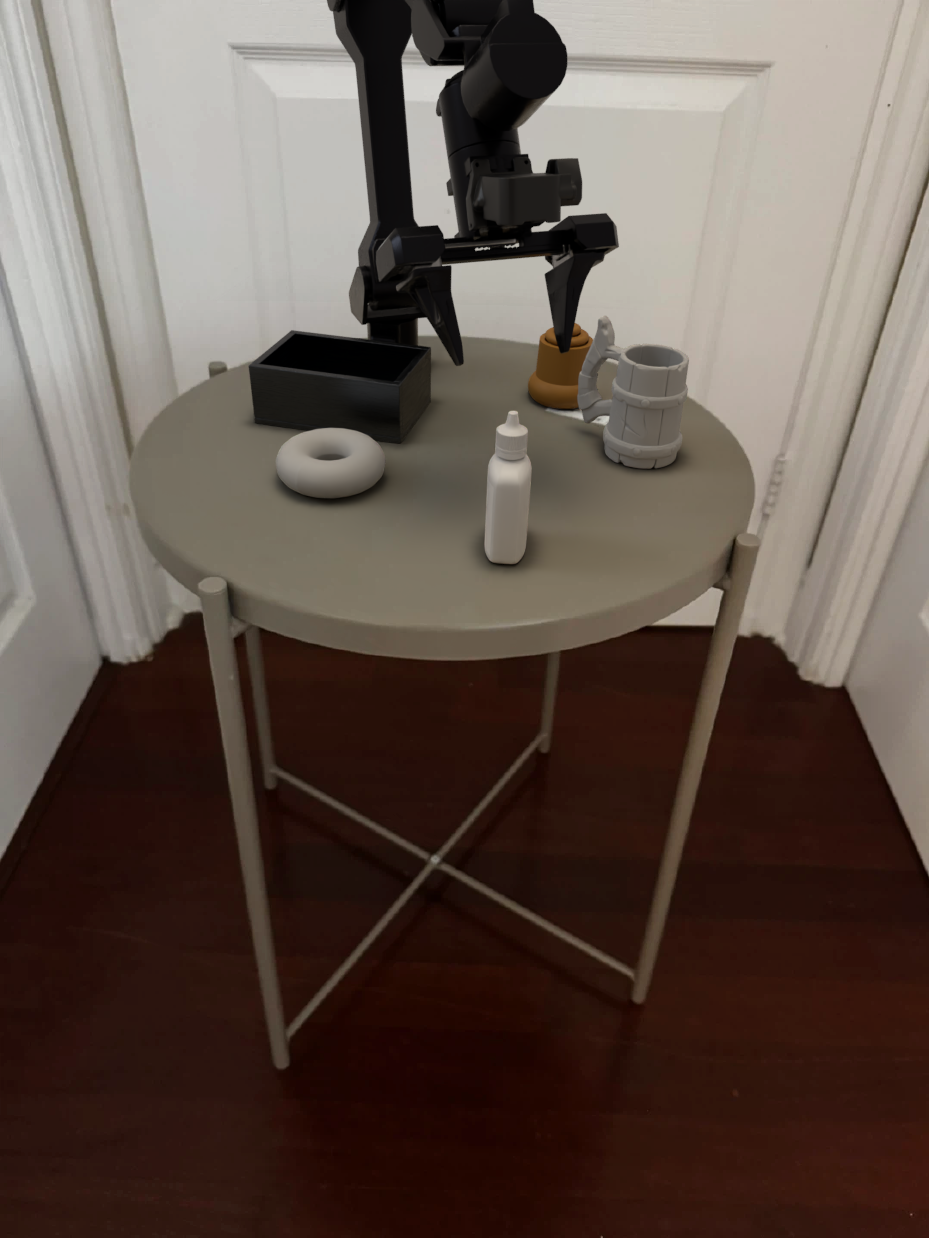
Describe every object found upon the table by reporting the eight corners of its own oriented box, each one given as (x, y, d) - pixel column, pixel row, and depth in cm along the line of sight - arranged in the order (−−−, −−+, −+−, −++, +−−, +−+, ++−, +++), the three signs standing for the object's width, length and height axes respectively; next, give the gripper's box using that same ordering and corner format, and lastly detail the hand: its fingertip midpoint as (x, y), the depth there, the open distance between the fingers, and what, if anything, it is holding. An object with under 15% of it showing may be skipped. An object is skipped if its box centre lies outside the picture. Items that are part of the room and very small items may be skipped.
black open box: (296, 384, 104) (291, 330, 100) (431, 402, 101) (431, 347, 97) (254, 423, 96) (248, 365, 92) (400, 444, 93) (399, 385, 89)
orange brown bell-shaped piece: (609, 401, 102) (557, 417, 99) (564, 379, 107) (513, 393, 103) (618, 329, 97) (564, 342, 94) (571, 309, 102) (517, 321, 99)
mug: (652, 479, 88) (672, 355, 81) (552, 440, 94) (562, 321, 87) (694, 452, 93) (716, 333, 86) (596, 417, 99) (609, 303, 92)
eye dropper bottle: (464, 554, 77) (468, 417, 70) (500, 525, 80) (508, 393, 73) (509, 571, 75) (518, 433, 68) (544, 541, 79) (556, 407, 71)
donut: (398, 462, 90) (298, 448, 91) (398, 428, 88) (296, 415, 89) (368, 513, 82) (260, 497, 83) (367, 478, 80) (256, 462, 81)
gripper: (395, 117, 63) (432, 354, 65) (640, 108, 68) (666, 327, 71) (359, 175, 73) (392, 378, 76) (574, 164, 79) (599, 353, 81)
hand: (513, 358), depth 75 cm, fingers open, 9 cm apart
